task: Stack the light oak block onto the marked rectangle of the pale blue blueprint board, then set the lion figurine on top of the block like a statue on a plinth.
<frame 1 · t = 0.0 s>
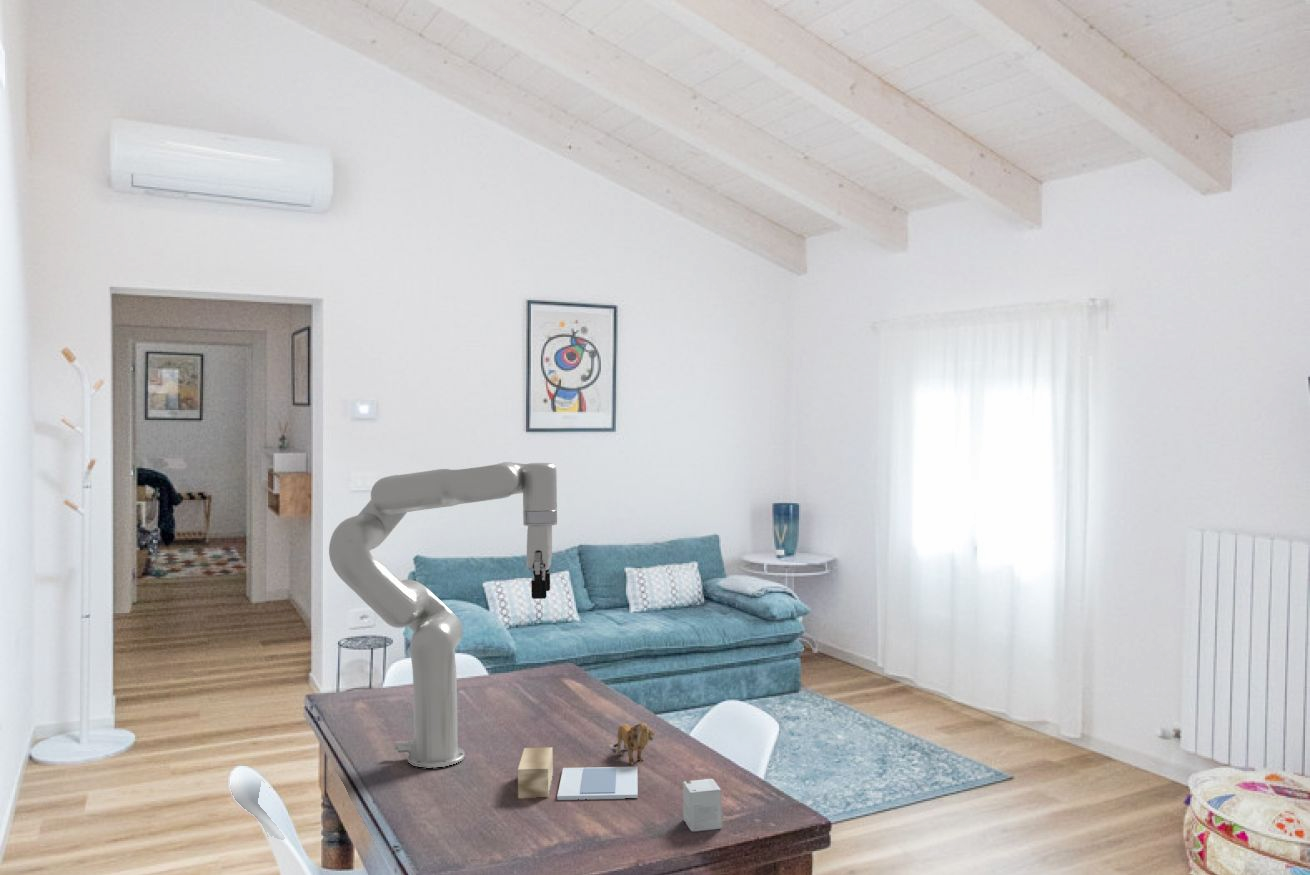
hand: (541, 594, 221), 37 cm above the table, tool pointing down, fingers open, 9 cm apart
lion figurine: (632, 758, 221), on the table
oak block: (536, 786, 204), on the table
skincare box: (702, 825, 184), on the table
blueprint board: (599, 784, 204), on the table
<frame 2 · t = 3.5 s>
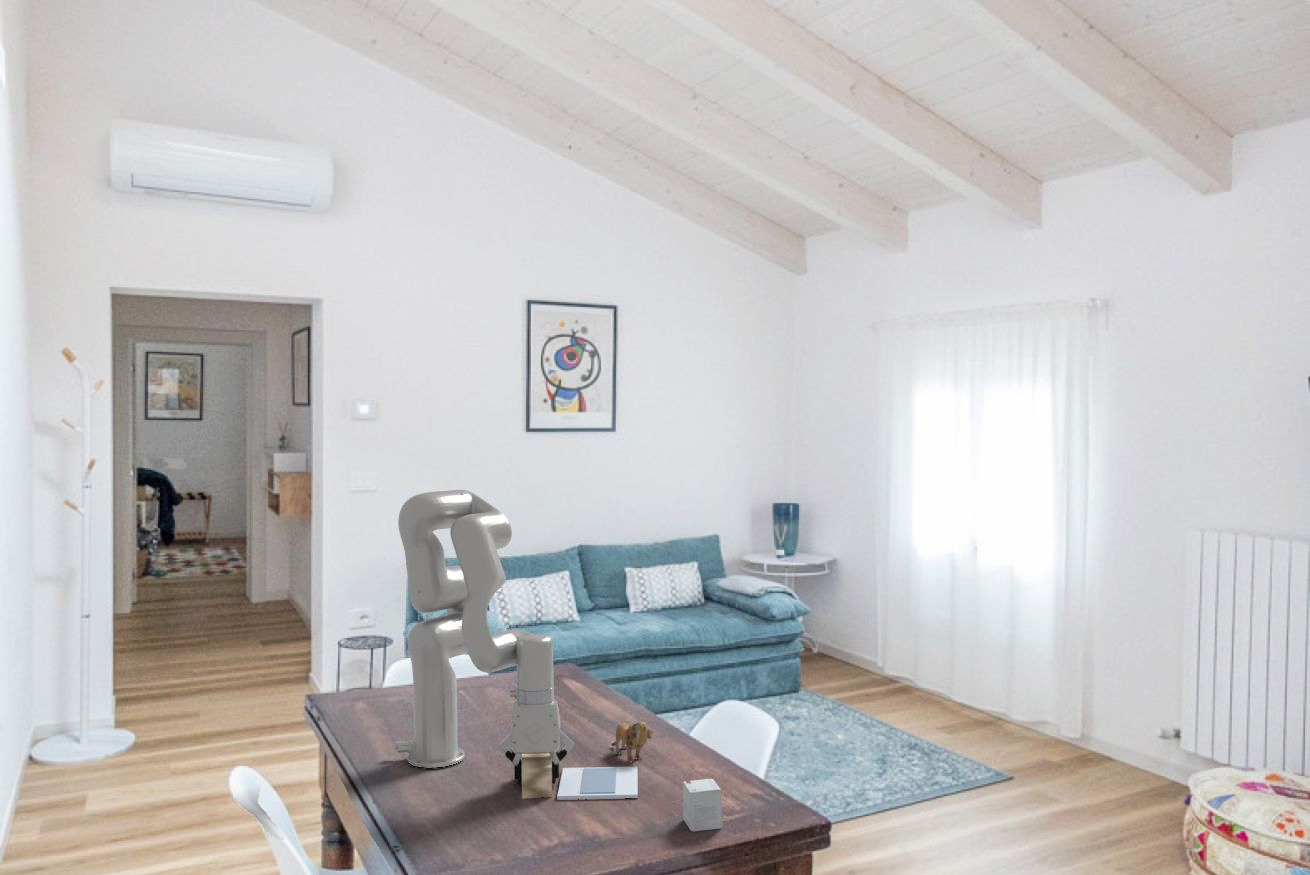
hand: (537, 781, 204), 1 cm above the table, tool pointing down, fingers closed on oak block, 6 cm apart
lion figurine: (631, 757, 222), on the table
oak block: (537, 786, 204), on the table, touching gripper
everything else where it was.
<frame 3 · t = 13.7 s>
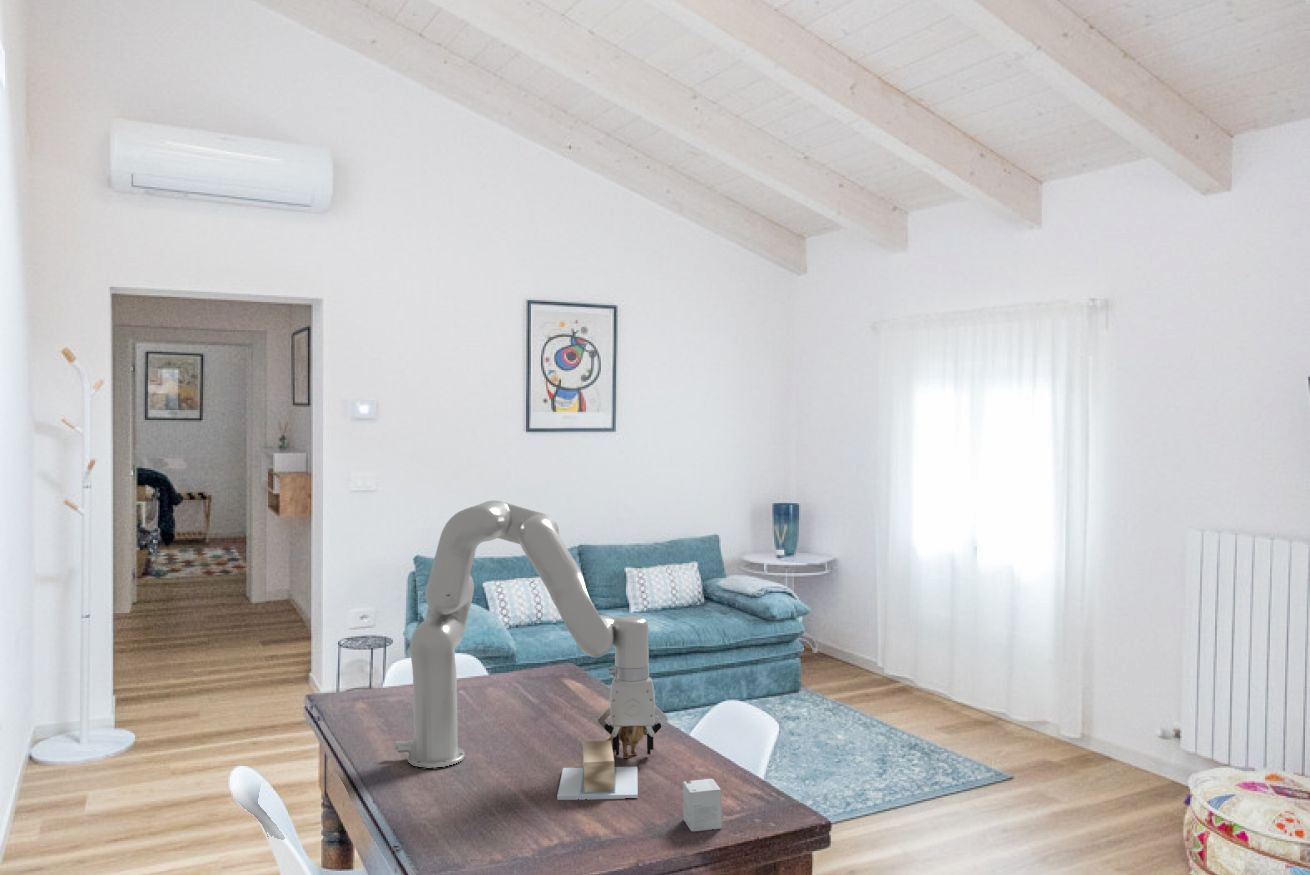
hand: (633, 752, 221), 1 cm above the table, tool pointing down, fingers closed on lion figurine, 6 cm apart
lion figurine: (626, 753, 224), on the table, touching gripper
oak block: (598, 779, 204), point 1 cm above the table, touching blueprint board
everything else where it was.
when the fingers open (9 cm above the table, at t = 19.4 s): lion figurine drops 1 cm, resting on oak block.
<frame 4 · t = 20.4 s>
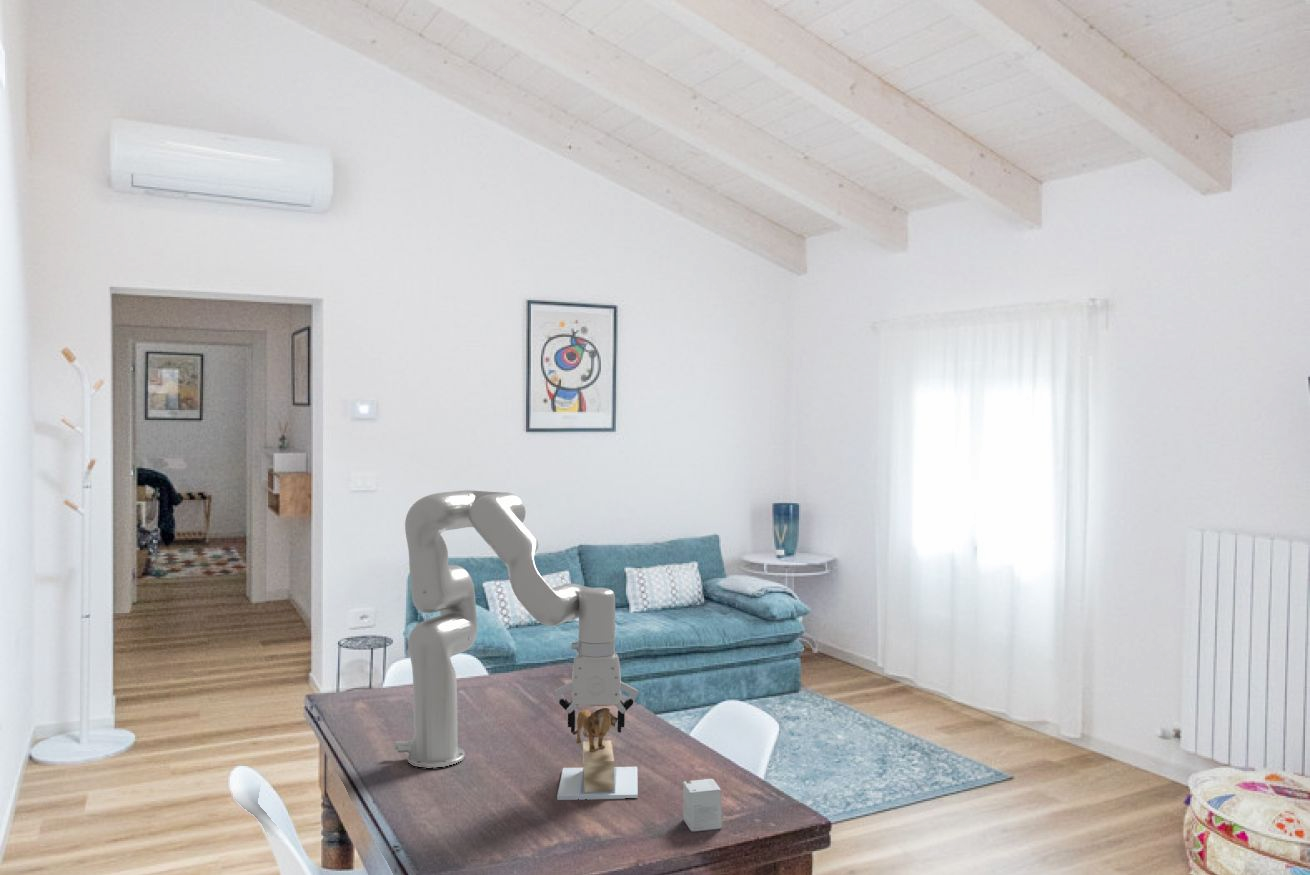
hand: (596, 730, 204), 11 cm above the table, tool pointing down, fingers open, 9 cm apart
lion figurine: (593, 746, 208), point 7 cm above the table, touching gripper, oak block
oak block: (598, 779, 204), point 1 cm above the table, touching blueprint board, lion figurine
everything else where it was.
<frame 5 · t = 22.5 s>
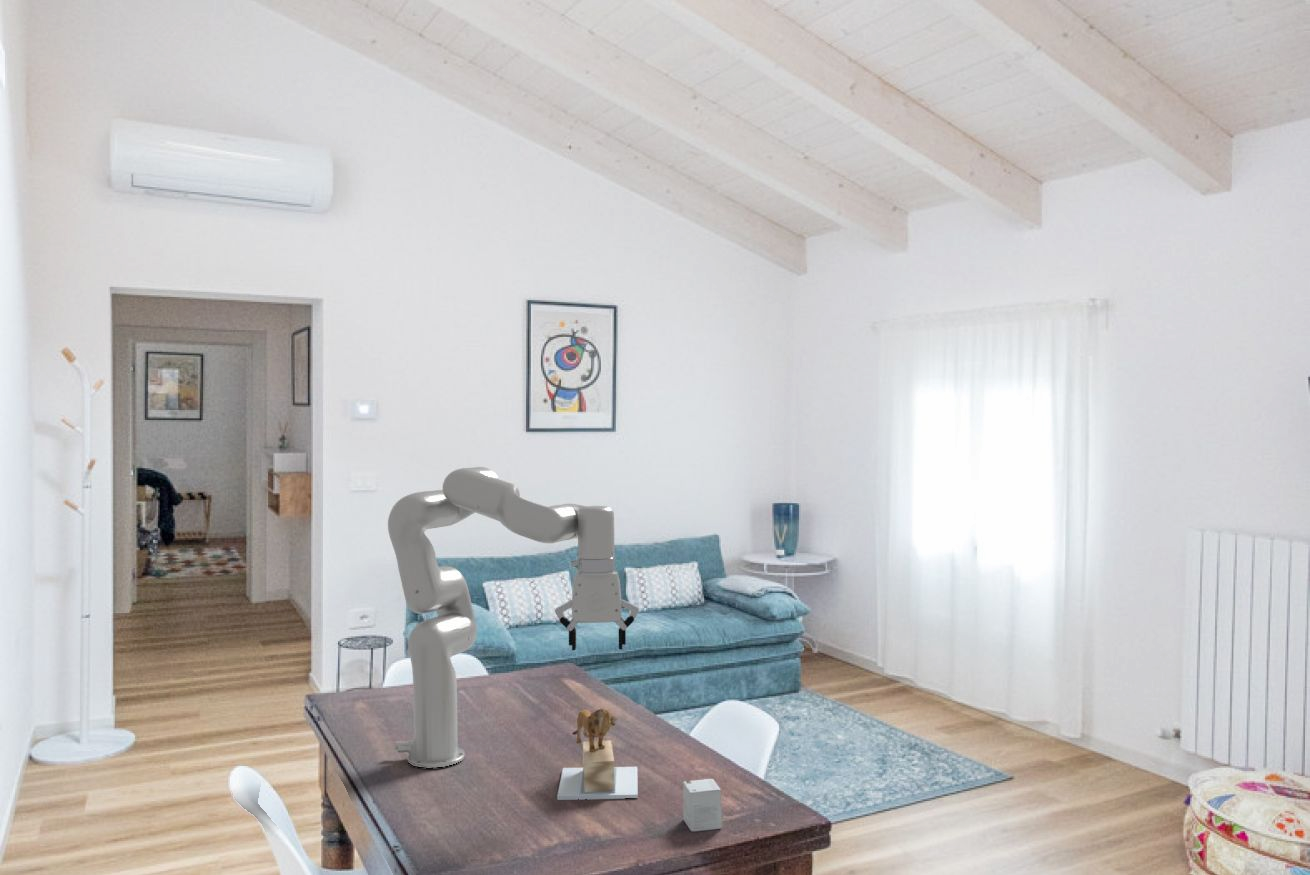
hand: (597, 648, 204), 28 cm above the table, tool pointing down, fingers open, 9 cm apart
lion figurine: (593, 746, 208), point 7 cm above the table, touching oak block
everything else where it was.
at the end: oak block inside the target area on the blueprint board (0.1 cm from its centre), point 1.0 cm above the blueprint board's base; lion figurine inside the target area on the oak block (3.8 cm from its centre), point 5.8 cm above the oak block's base; lion figurine tilted 0° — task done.
